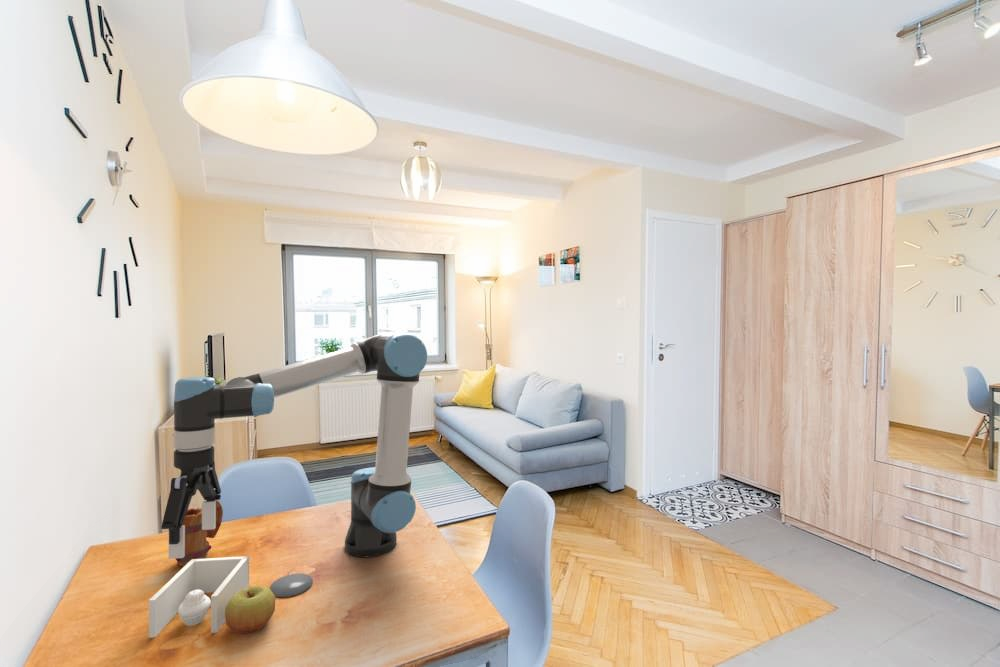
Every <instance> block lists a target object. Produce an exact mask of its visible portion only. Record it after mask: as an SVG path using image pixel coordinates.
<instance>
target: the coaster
mask: <svg viewBox="0 0 1000 667" xmlns="http://www.w3.org/2000/svg"><path fill="white" fill-rule="evenodd" d="M312 585H313V577H312V576H311V575H310V574H306V573H300V572H299V573H291V574H287V575H284V576H282V577H279V578H277V579H276V580H274V581H273V582H272V583H271V584H270V585H269V587H268V588H269V589H270V590H271V591H272V592H273V594H274V595H275V598H282V599H283V598H285V599H286V598H291V597H294V596H295V597H296V596H298V595H301V594H303V593H304V592H307V591H308V590H309V589H310V588H311V587H312Z"/></svg>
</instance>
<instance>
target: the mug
mask: <svg viewBox="0 0 1000 667" xmlns="http://www.w3.org/2000/svg"><path fill="white" fill-rule="evenodd" d="M215 501H216V528H215V529H211V530H202V507H198V508H188V510H187V513H186V516H185V519H184V521H183V524H182V525H185V556H184V557H183V558H174V559H175V560H176V562H177V566H180V567H184V566H185V565H186V564H187V563H188V562H189V561H190V560H192V559H206V558H207V557H208V552H209V551H211V549H212V545H210V542H209V541H208V540H207V538H208V539H214V538H216V536H217V533H218V531H219V530H220V527H221V525H222V521H223V514H224V510H223V507H222V504H221V502H220V501H219V500H215Z"/></svg>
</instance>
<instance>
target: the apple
mask: <svg viewBox="0 0 1000 667" xmlns="http://www.w3.org/2000/svg"><path fill="white" fill-rule="evenodd" d="M269 588H270V587H267V586H265V585H251V586H250V585H249V587H247V588H244V589H242V590H240V591H238V592H237V593H236V594H234V595H233V596H232V597H231V599H230V600H229V602H228V604H227V606H226V608H225V619H226V621H225V623H226V625H227V626H228V628H230V629H231V630H232V631H233V632H235V633H239V634H247V633H252V632H256V631H257V630H259V629H261V628H263V627H264V626H265V625H266V624H268V623H269V621H270V619H271V618H272V617H273V616H274V613H275V611H276V597H275V595H274V594H273V592H272V591H271V590H270V589H269Z"/></svg>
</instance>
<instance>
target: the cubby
mask: <svg viewBox="0 0 1000 667" xmlns="http://www.w3.org/2000/svg"><path fill="white" fill-rule="evenodd" d="M247 587H250V555H244V556H230V557H229V556H226V557H212V558H211V557H210V558H207V557H206V558H205V559H192V560H190V561H189V562H188V563H187V564H186V565H185V566H182V568H181V569H180V570H179V571H178V572H176V574H175V575H174V576H173V577H172V578H170V579H169V581H167V583H166V584H164V585H163V586H162V587H161V588H160V589H159V590H158V591H157V592H155V594H154V595H152V596H151V598H150V599H148V639H152V638H156V637H157V636H158V635H159V634H160V633H161V632H162V630H164V628H165V627H166V626H167V625H168V624H169V622H171V620H173V618H174V617H175V616H176V615H177V614H178V608H179V606H180V605H181V603H182V602H183V601H184V600H185V597H186V595H187V594H188V593H189V592H191V591H194V590H199V589H200V590H202V591H203V592H204V594H210V593H212V594H211V596H210V600H211V604H210V609H211V610H210V613H211V614H210V615H211V616H210V634H215V633H218V632H219V631H220V629H221V628H222V627H223V625H224V624H225V623H226V619H225V608H226V606H227V604H228V602H229V600H230V599H231V597H232V596H233V595H234V594H236V593H237V592H238V591H240V590H242V589H244V588H247Z"/></svg>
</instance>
